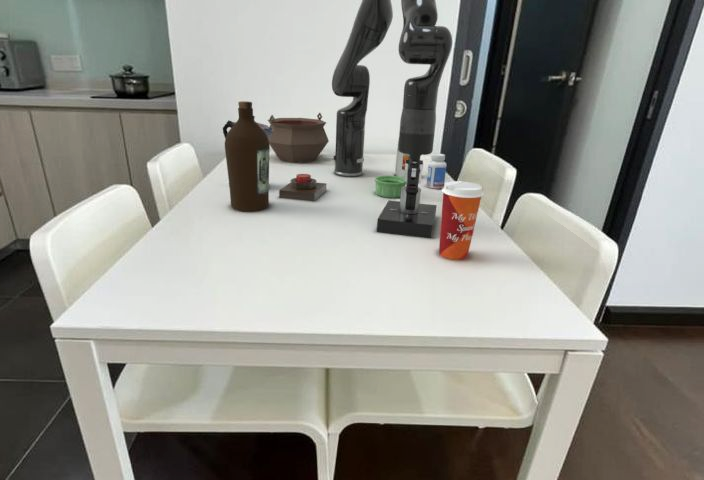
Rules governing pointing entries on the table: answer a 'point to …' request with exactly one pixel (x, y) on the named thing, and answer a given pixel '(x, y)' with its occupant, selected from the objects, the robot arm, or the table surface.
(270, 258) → the table surface
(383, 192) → the ramekin
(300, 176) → the power button
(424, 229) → the panel
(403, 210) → the knob
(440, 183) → the pill bottle
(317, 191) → the dark brown square base
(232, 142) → the olive oil
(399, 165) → the milk bottle
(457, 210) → the paper cup
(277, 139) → the brown cauldron
